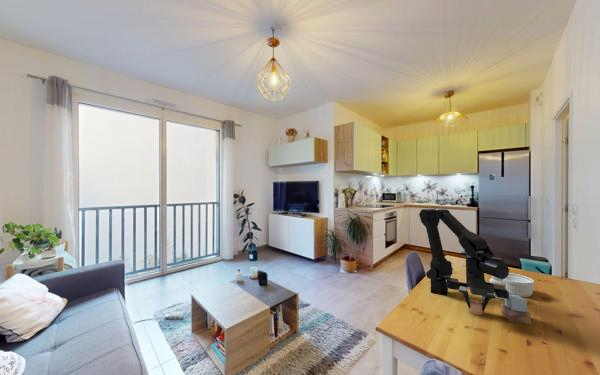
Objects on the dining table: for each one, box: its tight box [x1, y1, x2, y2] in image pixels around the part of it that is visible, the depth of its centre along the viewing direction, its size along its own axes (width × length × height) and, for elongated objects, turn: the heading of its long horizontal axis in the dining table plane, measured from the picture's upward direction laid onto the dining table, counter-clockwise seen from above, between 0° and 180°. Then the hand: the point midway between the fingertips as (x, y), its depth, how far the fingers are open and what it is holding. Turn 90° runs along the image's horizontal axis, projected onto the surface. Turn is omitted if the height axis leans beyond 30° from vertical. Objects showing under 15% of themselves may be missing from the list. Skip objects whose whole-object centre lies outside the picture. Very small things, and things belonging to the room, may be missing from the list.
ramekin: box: [503, 272, 535, 298], centre depth 105 cm, size 13×13×7 cm
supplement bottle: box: [489, 275, 506, 300], centre depth 100 cm, size 5×5×10 cm
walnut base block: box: [500, 302, 532, 325], centre depth 83 cm, size 6×6×4 cm
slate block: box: [504, 294, 528, 312], centre depth 83 cm, size 4×4×4 cm
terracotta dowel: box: [469, 299, 484, 316], centre depth 87 cm, size 4×4×4 cm
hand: (475, 309), depth 87 cm, fingers closed on terracotta dowel, 4 cm apart
